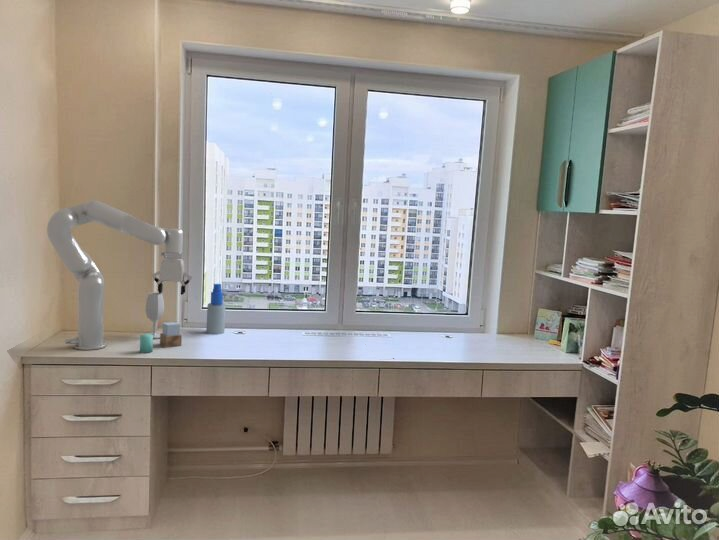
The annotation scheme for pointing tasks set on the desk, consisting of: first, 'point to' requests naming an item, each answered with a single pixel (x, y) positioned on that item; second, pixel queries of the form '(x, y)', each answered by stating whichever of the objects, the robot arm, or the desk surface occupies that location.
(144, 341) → the teal cylinder
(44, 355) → the desk surface
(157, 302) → the wineglass
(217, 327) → the spray bottle
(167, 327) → the bluegrey cube
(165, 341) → the walnut base
